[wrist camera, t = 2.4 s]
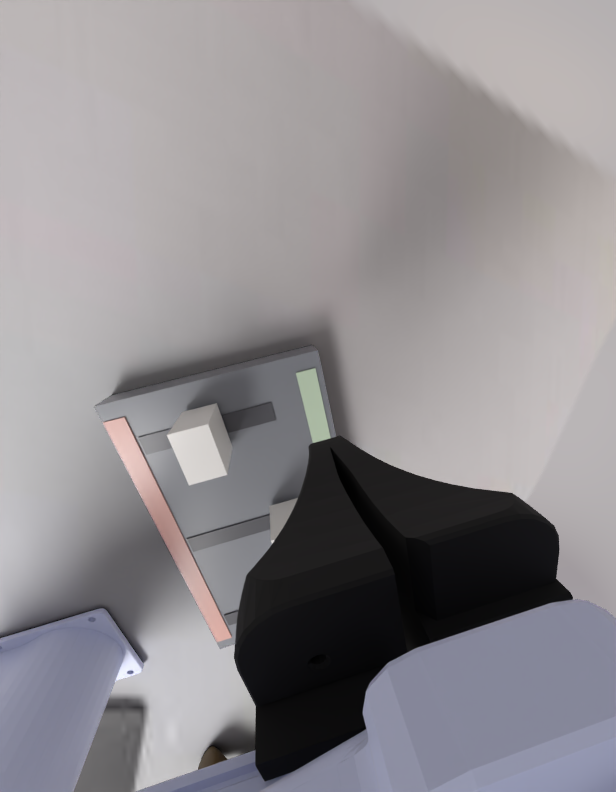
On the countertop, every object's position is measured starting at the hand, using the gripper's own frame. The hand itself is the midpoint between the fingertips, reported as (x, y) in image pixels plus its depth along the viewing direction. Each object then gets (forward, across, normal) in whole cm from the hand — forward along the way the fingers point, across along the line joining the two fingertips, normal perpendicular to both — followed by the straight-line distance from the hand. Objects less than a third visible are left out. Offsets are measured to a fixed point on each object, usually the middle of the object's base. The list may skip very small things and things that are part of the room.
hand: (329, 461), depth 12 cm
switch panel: (+9, +5, +8) cm, 13 cm away
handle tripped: (+7, +6, 0) cm, 9 cm away
